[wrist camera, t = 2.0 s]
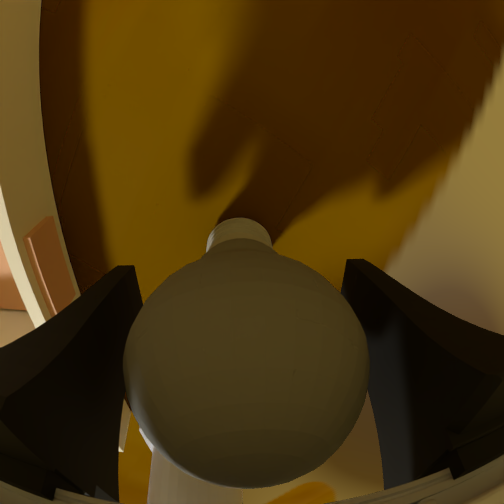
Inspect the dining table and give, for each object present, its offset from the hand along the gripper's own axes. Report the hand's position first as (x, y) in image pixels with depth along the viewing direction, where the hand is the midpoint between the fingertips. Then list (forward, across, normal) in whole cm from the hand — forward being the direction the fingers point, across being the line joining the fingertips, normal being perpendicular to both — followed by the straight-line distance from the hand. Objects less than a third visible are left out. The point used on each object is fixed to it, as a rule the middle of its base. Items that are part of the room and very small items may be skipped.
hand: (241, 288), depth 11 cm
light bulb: (+4, 0, 0) cm, 4 cm away
